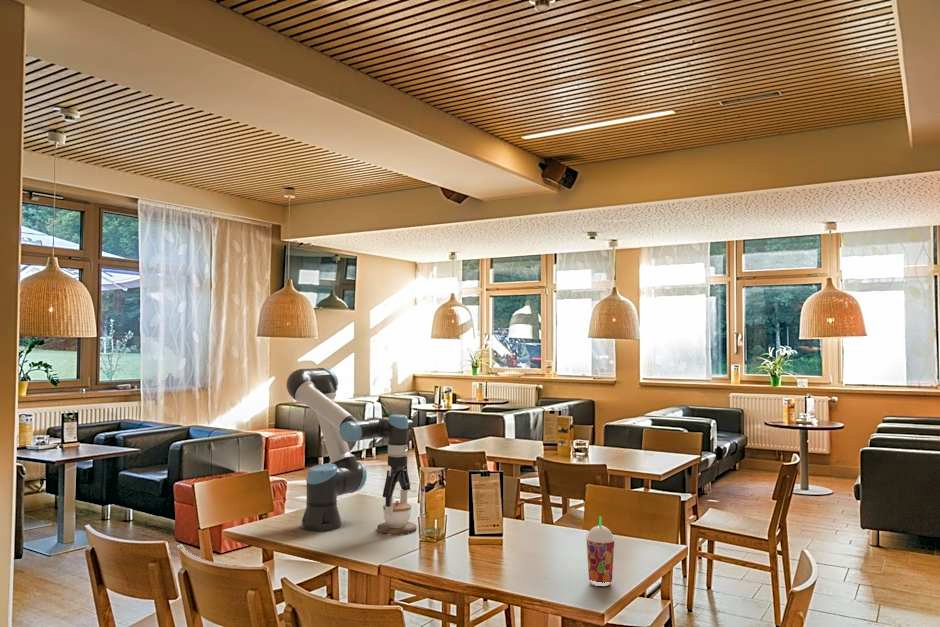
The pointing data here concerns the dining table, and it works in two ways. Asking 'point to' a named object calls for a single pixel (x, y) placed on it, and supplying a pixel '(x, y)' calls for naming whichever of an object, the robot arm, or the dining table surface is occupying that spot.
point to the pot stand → (396, 529)
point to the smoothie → (600, 553)
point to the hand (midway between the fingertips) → (396, 510)
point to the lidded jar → (398, 515)
